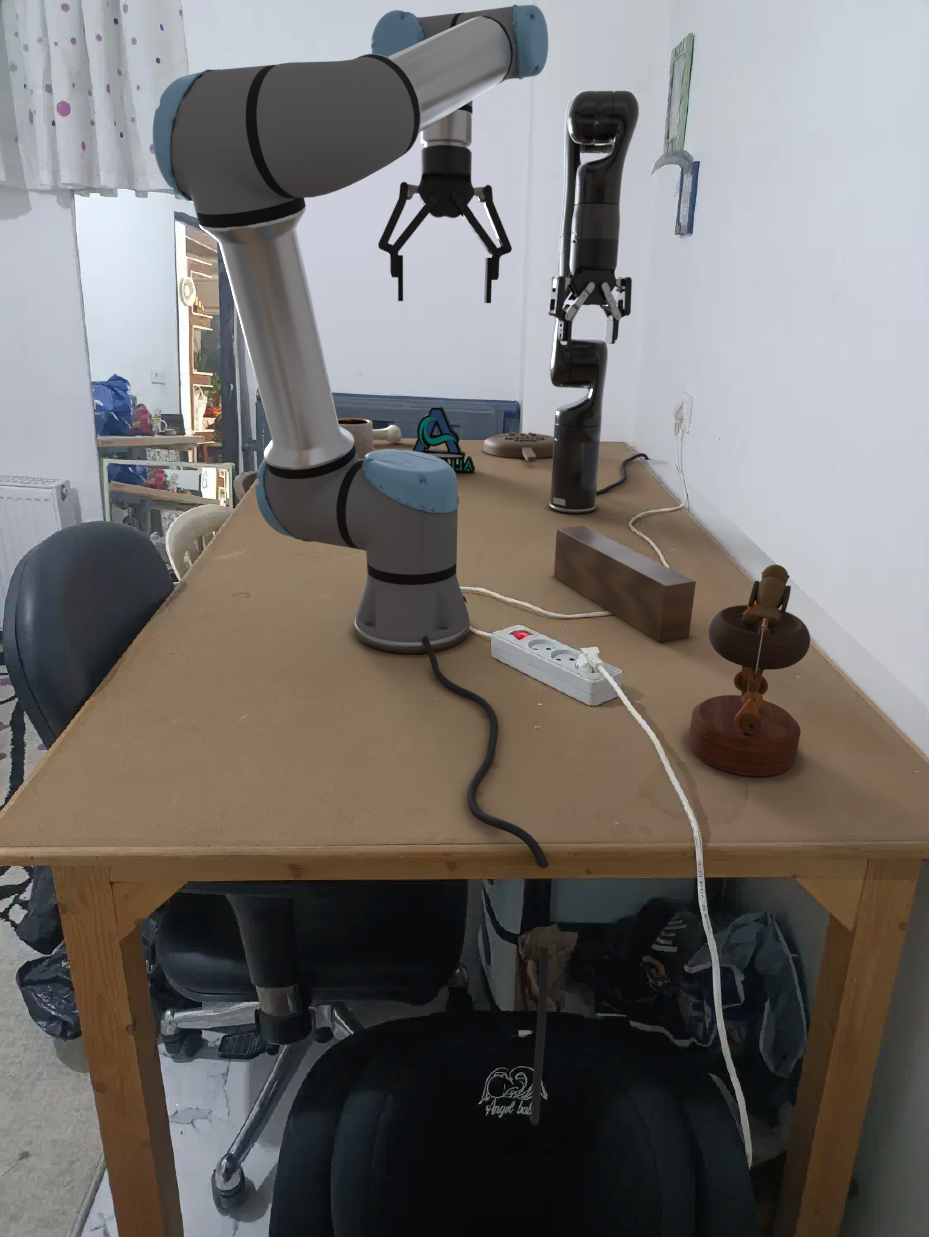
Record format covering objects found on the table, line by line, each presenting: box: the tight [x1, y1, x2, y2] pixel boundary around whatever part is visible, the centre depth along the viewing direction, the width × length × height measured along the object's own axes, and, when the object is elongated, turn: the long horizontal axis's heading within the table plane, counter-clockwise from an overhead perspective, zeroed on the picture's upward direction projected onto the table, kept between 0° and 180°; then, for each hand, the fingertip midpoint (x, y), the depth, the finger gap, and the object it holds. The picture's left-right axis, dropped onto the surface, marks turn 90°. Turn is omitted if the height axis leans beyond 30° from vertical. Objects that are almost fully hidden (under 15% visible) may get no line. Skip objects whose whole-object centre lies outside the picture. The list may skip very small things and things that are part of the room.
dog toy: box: [373, 424, 402, 444], centre depth 234 cm, size 20×6×5 cm, turn 99°
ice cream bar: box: [483, 431, 554, 463], centre depth 221 cm, size 21×28×4 cm
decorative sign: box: [411, 405, 476, 473], centre depth 201 cm, size 19×2×15 cm, turn 86°
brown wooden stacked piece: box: [688, 564, 811, 777], centre depth 83 cm, size 15×11×20 cm
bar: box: [553, 525, 697, 644], centre depth 122 cm, size 28×5×8 cm, turn 24°
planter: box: [337, 417, 375, 459], centre depth 212 cm, size 11×11×10 cm
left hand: (444, 302), depth 132 cm, fingers open, 13 cm apart
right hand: (587, 344), depth 140 cm, fingers open, 8 cm apart
